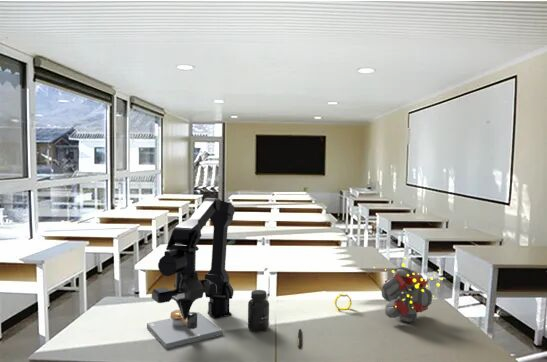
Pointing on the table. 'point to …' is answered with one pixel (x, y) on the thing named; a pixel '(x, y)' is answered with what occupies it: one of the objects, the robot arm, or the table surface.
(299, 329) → the fountain pen
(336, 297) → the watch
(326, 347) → the table surface
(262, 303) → the supplement bottle
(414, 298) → the molecule model
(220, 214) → the robot arm
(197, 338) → the base
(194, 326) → the crank handle
